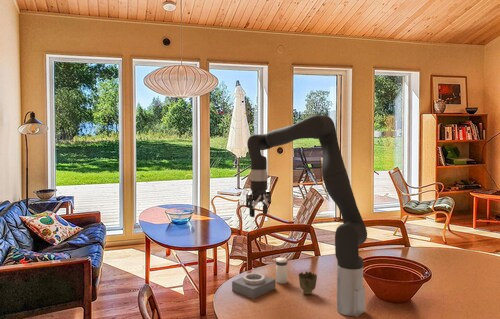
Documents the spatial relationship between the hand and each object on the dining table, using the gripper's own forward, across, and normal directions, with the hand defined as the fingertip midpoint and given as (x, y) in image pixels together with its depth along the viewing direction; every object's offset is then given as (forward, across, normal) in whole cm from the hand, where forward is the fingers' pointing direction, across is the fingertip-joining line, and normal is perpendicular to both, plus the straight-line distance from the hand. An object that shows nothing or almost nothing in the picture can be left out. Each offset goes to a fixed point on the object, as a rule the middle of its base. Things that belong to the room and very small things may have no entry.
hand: (258, 215), depth 169 cm
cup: (+30, +2, -25) cm, 39 cm away
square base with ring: (+29, -10, -6) cm, 32 cm away
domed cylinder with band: (+29, +5, -9) cm, 31 cm away
